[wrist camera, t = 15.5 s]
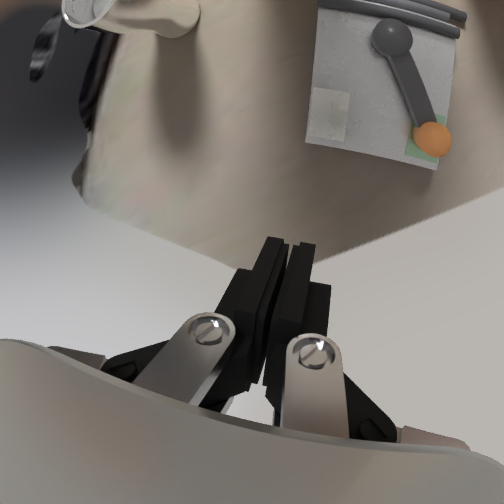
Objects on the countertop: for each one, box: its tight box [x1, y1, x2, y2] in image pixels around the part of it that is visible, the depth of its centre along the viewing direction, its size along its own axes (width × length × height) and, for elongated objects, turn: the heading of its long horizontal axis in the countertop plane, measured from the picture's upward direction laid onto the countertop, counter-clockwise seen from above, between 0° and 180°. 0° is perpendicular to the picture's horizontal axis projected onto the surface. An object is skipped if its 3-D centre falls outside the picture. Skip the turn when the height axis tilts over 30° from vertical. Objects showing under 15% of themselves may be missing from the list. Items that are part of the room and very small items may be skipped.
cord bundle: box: [318, 0, 467, 39], centre depth 21 cm, size 4×17×3 cm, turn 85°
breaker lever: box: [371, 18, 452, 158], centre depth 23 cm, size 13×4×3 cm, turn 26°
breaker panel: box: [305, 0, 456, 171], centre depth 26 cm, size 16×14×2 cm
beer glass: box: [62, 0, 200, 38], centre depth 21 cm, size 7×7×15 cm
